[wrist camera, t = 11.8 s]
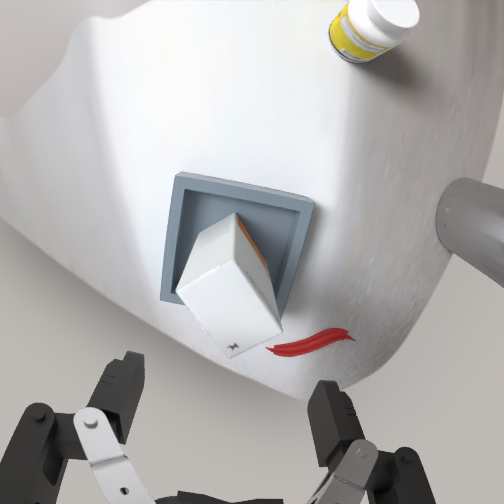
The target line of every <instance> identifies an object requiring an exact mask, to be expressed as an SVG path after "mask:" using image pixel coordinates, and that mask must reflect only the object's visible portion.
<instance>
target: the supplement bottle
mask: <svg viewBox="0 0 504 504" xmlns="http://www.w3.org/2000/svg"><path fill="white" fill-rule="evenodd" d="M419 16H420V15H419V10H418V7H417V5H416V3H415V2H414V0H350V1H349V3H348V4H347V5H346V6H345V7H344V8H343V10H342V11H341V12H340V13H339V14H338V15H337V17H336V18H335V19H334V20H333V21H332V23H331V24H330V26H329V29H328V39H329V42H330V45H331V46H332V48H333V49H334V51H335V52H336V53H337V54H338V55H340V56H341V57H342V58H344V59H346V60H348V61H351V62H355V63H364V62H367V61H370V60H372V59H374V58H376V57H377V56H379V55H381V54H383V53H385V52H387V51H388V50H390V49H392V48H394V47H396V46H398V45H400V44H401V43H403V42H404V41H405V40H406V39H407V38H408V36H409V33H410V29H411V28H413V27H414V26H415V25H417V23H418V21H419Z"/></svg>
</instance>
